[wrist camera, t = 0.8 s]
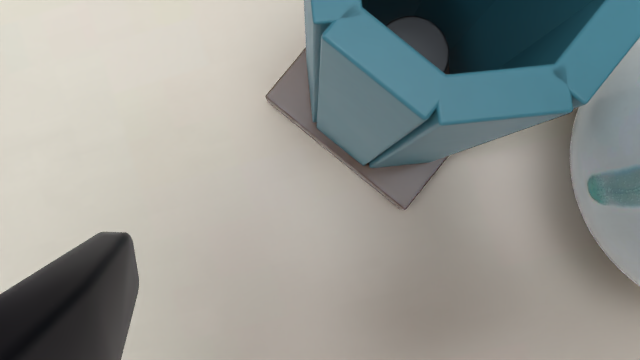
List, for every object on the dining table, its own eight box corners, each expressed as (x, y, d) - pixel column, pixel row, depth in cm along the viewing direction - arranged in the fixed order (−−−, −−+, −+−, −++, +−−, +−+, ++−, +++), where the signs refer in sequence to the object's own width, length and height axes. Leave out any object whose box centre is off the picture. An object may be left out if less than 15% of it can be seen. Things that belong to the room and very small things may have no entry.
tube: (404, 199, 22) (516, 194, 10) (275, 95, 22) (231, -36, 10) (505, 72, 22) (737, -85, 10) (379, -30, 22) (457, -307, 10)
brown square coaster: (401, 209, 23) (429, 212, 17) (267, 101, 23) (252, 68, 17) (507, 77, 23) (569, 37, 18) (374, -30, 23) (394, -103, 18)
